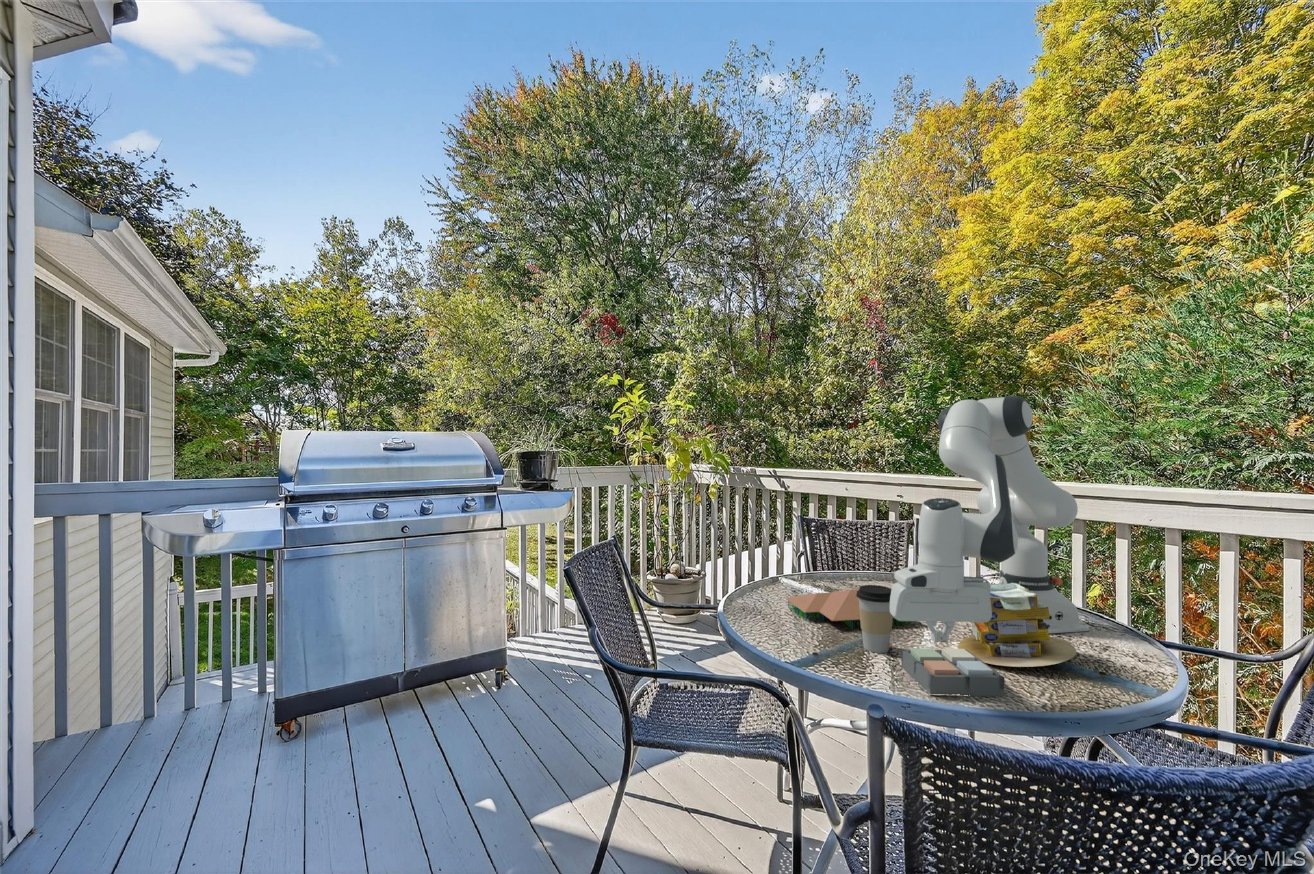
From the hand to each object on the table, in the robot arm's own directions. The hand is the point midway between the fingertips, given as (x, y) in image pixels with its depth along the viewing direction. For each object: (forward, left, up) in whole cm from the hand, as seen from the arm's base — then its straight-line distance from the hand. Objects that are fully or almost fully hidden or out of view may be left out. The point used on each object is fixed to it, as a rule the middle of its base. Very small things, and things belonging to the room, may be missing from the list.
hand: (939, 641), depth 124 cm
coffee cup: (+6, -22, -10) cm, 25 cm away
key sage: (0, -7, -7) cm, 10 cm away
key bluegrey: (-7, 0, -7) cm, 10 cm away
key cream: (-7, -7, -7) cm, 12 cm away
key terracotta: (0, 0, -7) cm, 7 cm away
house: (+3, -48, -11) cm, 50 cm away
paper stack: (-26, -19, -10) cm, 34 cm away
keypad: (-4, -4, -10) cm, 11 cm away
